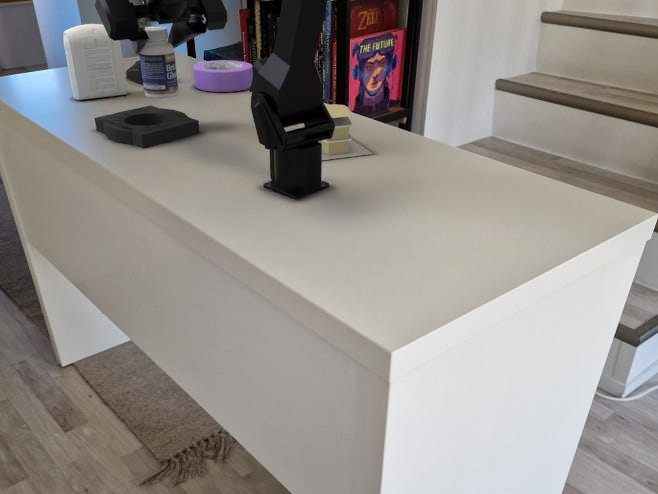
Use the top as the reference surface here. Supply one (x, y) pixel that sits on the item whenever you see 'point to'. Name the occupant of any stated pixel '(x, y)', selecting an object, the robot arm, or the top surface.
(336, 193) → the top surface
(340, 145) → the stacked layers on plate
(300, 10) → the robot arm
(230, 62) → the tape roll
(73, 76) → the white upright block
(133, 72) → the gaming mouse
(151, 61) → the pill bottle
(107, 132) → the pad
